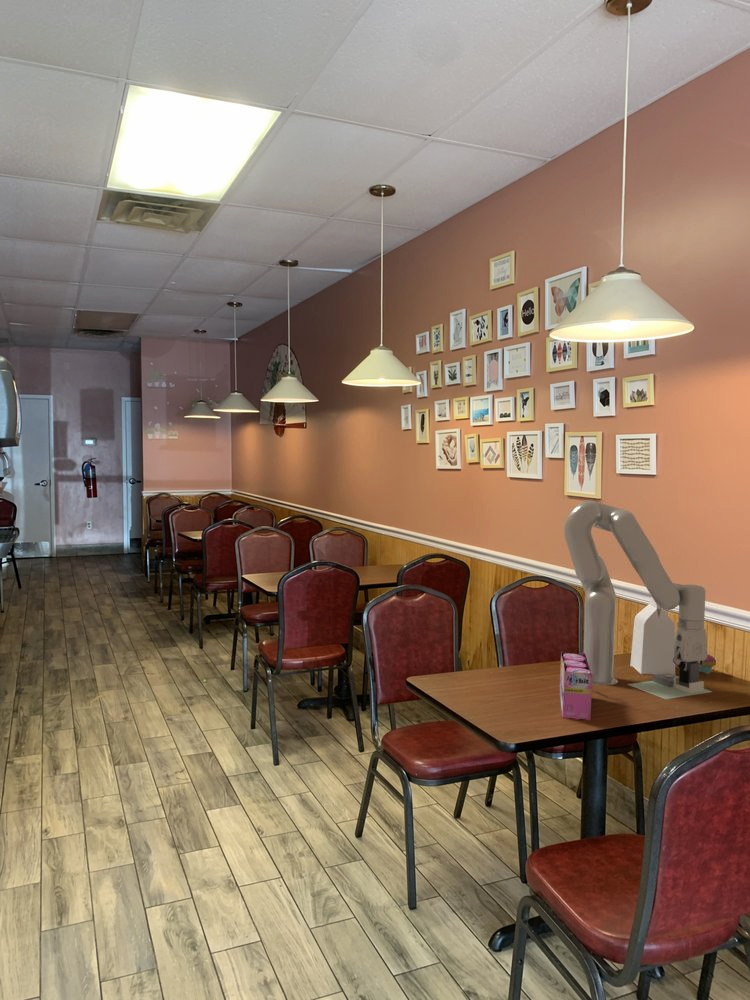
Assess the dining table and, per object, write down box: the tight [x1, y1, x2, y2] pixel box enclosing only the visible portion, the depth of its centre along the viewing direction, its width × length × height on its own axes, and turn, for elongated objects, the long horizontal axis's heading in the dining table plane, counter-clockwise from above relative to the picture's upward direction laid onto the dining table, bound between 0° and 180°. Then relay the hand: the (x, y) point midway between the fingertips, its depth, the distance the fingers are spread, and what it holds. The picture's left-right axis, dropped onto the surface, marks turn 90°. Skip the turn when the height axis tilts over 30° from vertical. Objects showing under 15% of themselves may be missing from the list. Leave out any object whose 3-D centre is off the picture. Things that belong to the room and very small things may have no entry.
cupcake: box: [699, 653, 717, 675], centre depth 257 cm, size 9×8×12 cm
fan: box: [652, 673, 679, 687], centre depth 241 cm, size 7×7×2 cm
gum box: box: [559, 651, 593, 721], centre depth 220 cm, size 24×8×14 cm, turn 168°
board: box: [627, 680, 713, 700], centre depth 236 cm, size 20×16×1 cm
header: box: [674, 677, 705, 693], centre depth 235 cm, size 6×7×3 cm
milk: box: [629, 596, 676, 675], centre depth 256 cm, size 12×12×26 cm
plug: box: [679, 662, 700, 688], centre depth 235 cm, size 4×5×8 cm
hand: (688, 681), depth 235 cm, fingers closed on plug, 3 cm apart
